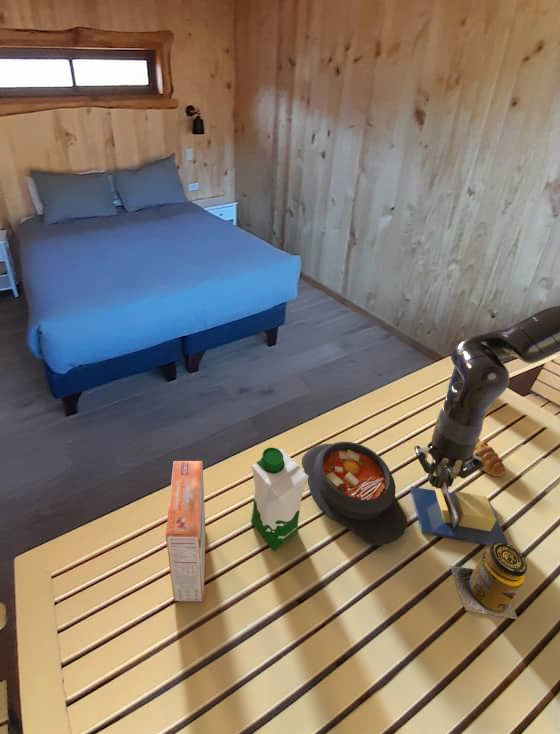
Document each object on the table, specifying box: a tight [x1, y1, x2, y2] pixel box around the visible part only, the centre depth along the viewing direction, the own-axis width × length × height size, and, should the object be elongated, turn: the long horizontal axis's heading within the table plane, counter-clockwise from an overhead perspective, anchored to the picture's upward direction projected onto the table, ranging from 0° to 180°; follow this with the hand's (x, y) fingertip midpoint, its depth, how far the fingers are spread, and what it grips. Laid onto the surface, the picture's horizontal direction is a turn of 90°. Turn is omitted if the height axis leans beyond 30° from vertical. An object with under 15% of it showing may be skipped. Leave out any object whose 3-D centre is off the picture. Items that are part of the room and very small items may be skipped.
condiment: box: [449, 541, 528, 620], centre depth 71 cm, size 7×8×12 cm
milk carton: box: [250, 447, 308, 552], centre depth 80 cm, size 9×9×20 cm
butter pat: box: [434, 488, 451, 523], centre depth 85 cm, size 1×5×4 cm, turn 168°
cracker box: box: [165, 460, 206, 603], centre depth 75 cm, size 14×6×21 cm, turn 178°
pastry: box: [473, 438, 506, 477], centre depth 97 cm, size 9×7×4 cm
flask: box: [447, 366, 464, 389], centre depth 120 cm, size 9×3×11 cm, turn 133°
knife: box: [435, 469, 458, 527], centre depth 87 cm, size 13×2×3 cm, turn 169°
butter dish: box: [409, 486, 509, 547], centre depth 85 cm, size 16×10×5 cm, turn 78°
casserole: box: [301, 441, 409, 546], centre depth 89 cm, size 25×19×8 cm
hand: (438, 483), depth 90 cm, fingers closed on knife, 2 cm apart
